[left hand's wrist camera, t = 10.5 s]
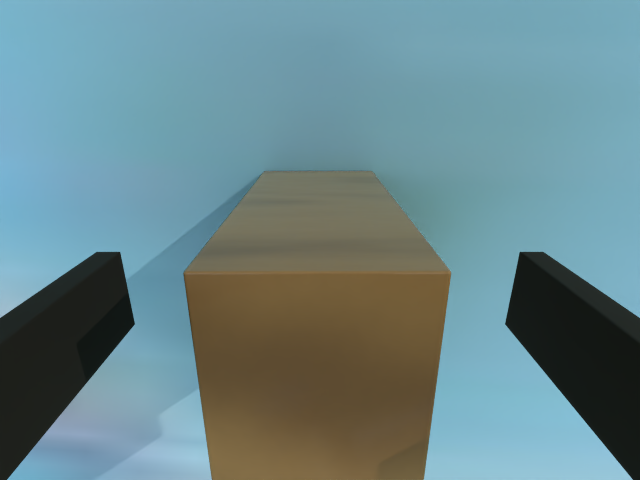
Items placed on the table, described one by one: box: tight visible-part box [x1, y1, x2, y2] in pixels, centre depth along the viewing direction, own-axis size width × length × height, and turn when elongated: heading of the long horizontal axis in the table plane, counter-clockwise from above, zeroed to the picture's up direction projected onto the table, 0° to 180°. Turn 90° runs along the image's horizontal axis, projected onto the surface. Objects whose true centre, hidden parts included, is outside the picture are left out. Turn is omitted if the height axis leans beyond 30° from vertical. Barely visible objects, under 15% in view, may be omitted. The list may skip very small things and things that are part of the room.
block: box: [183, 171, 451, 480], centre depth 14 cm, size 6×5×12 cm
